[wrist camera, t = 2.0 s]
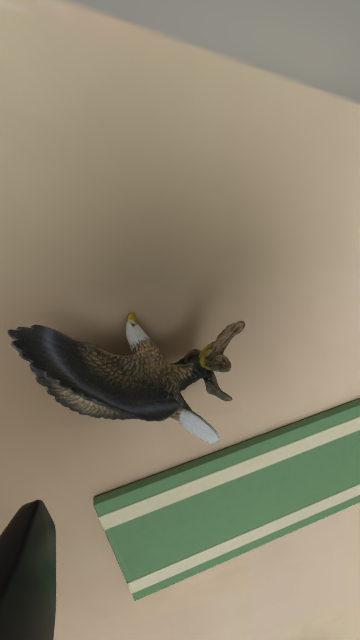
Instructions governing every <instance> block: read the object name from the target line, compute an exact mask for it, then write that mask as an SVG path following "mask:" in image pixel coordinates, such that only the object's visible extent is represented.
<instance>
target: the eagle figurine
mask: <svg viewBox="0 0 360 640" xmlns="http://www.w3.org/2000/svg"><path fill="white" fill-rule="evenodd" d="M244 327H245V323H244V322H243V321H239V322H236V323H233V324H230V325H228V326H227V327H226V329H224V330H223V331H222V332H221V333H220V334H219V335H218V337H217V339H216V341H214V342H212V343H210V344H209V345H208V346H206V347H205V348H204V349H203V350H202V351H200V350H198V349H194V350H191V351H189V352H188V353H187V354H186V355H185V357H184V358H183V359H181V360H180V361H178V362H177V363H172V364H171V363H169V362H167V361H166V359H165V357H164V355H163V353H162V352H161V350H160V349H159V348H158V347H157V345H156V344H155V343H154V342H153V341H152V340H151V339H150V338H149V337H148V336H147V335H146V333H145V332H144V331H143V330H142V329H141V327H140V326H139V325H138V323H137V322H136V320H135V314H134V313H131V314H130V315H129V316H128V319H127V324H126V336H127V340H128V342H129V345H130V348H131V352H132V355H125V356H123V355H116V354H112V353H110V352H107V351H105V350H103V349H101V348H99V347H97V346H94V345H92V344H89V343H83V342H77V341H74V340H72V339H71V338H69V337H68V336H66V335H64V334H62V333H60V332H58V331H56V330H53V329H51V328H47V327H44V326H41V325H33V326H31V328H27V327H18V328H17V330H8V335H9V336H10V337H11V338H12V339H14V340H15V341H12V343H11V346H12V347H13V348H14V349H16V350H18V351H19V356H20V357H21V358H23V359H25V360H27V361H29V362H30V368H31V370H32V372H34V373H35V374H36V375H37V377H36V381H37V382H38V383H39V384H41V385H43V386H45V387H48V389H47V392H48V394H50V395H53V396H55V400H56V401H57V402H59V403H61V404H62V405H63V406H65V407H69V408H70V410H72V411H76V412H79V414H82V415H89V416H91V417H95V418H101V417H103V418H105V419H112V420H115V419H121V420H124V419H141V420H146V421H164V420H165V419H167V418H168V417H171V418H173V419H175V420H178V422H179V424H180V425H181V426H182V427H183V428H184V429H186V430H187V431H189V432H191V433H192V434H195V435H196V436H198V437H199V438H201V439H202V440H205V441H206V442H208V443H210V444H214V443H217V442H218V439H219V436H218V433H217V431H216V430H215V429H214V428H213V427H212V426H211V425H210V424H208V423H207V422H206V421H205V420H204V419H203V418H202V417H201V416H199V415H198V414H196V413H195V412H193V411H192V410H191V408H190V407H189V406H188V404H187V403H186V401H185V400H184V398H183V397H182V395H181V393H180V391H182V390H184V389H185V388H186V387H187V386H189V385H190V384H192V383H194V382H196V381H197V380H199V379H201V378H203V379H204V381H205V384H206V390H207V392H208V393H209V394H212V395H215V396H217V397H218V398H220V399H222V400H224V401H231V400H232V397H230V396H229V395H228V394H226V393H225V392H223V391H222V390H221V389H220V388H219V386H218V384H217V380H216V377H215V374H214V372H213V371H219V372H228V371H230V369H231V363H230V361H229V360H228V358H227V357H225V356H224V355H223V352H224V350H225V348H226V347H227V345H228V343H229V342H230V340H231V339H232V338H233V337H234V336H235V335H236V334H238V333H240V332H241V331H242V330H243V328H244Z"/></svg>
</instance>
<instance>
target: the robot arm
mask: <svg viewBox="0 0 360 640" xmlns="http://www.w3.org/2000/svg"><path fill="white" fill-rule="evenodd" d="M55 613H56V530H55V525H54V522H53V520H52V518H51V516H50V514H49V512H48V510H47V508H46V506H45V504H44V503H43V501H42V500H36V501H33V502H30V503H27V504H25V505H23V506H22V507H21V508H20V509H19V510H18V512H17V513H16V514H15V516H14V517H13V519H12V520H11V521H10V523H9V524H8V526H7V527H6V528H5V530H4V531H3V533H2V534H1V535H0V640H53V637H54V626H55Z"/></svg>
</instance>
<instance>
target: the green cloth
mask: <svg viewBox="0 0 360 640" xmlns="http://www.w3.org/2000/svg"><path fill="white" fill-rule="evenodd" d="M359 502H360V399H357V400H355V401H352V402H349V403H347V404H344V405H341V406H338V407H336V408H333V409H330V410H328V411H325V412H322V413H320V414H317V415H314V416H312V417H309V418H306V419H304V420H301V421H298V422H296V423H293V424H290V425H288V426H285V427H282V428H279V429H277V430H274V431H271V432H269V433H266V434H263V435H261V436H258V437H255V438H253V439H250V440H247V441H245V442H242V443H239V444H237V445H234V446H231V447H229V448H226V449H223V450H220V451H218V452H215V453H212V454H210V455H207V456H204V457H202V458H199V459H196V460H194V461H191V462H188V463H186V464H183V465H180V466H178V467H175V468H172V469H170V470H167V471H164V472H162V473H159V474H156V475H153V476H151V477H148V478H145V479H143V480H140V481H137V482H135V483H132V484H129V485H127V486H124V487H121V488H119V489H116V490H113V491H111V492H108V493H105V494H103V495H100V496H97V497H94V507H95V510H96V512H97V514H98V518H99V520H100V523H101V525H102V527H103V530H104V531H105V533H106V535H107V538H108V540H109V542H110V544H111V547H112V549H113V551H114V554H115V556H116V558H117V561H118V563H119V565H120V568H121V570H122V572H123V575H124V577H125V579H126V582H127V585H128V587H129V590H130V592H131V594H132V595H133V598H134V600H135V601H136V600H138V599H140V598H143V597H145V596H147V595H150V594H152V593H154V592H156V591H159V590H161V589H163V588H165V587H168V586H170V585H172V584H175V583H177V582H179V581H181V580H184V579H186V578H188V577H191V576H193V575H195V574H197V573H200V572H202V571H204V570H206V569H209V568H211V567H213V566H216V565H218V564H220V563H222V562H225V561H227V560H229V559H231V558H234V557H236V556H238V555H241V554H243V553H245V552H247V551H250V550H252V549H254V548H257V547H259V546H261V545H263V544H266V543H268V542H270V541H272V540H275V539H277V538H279V537H282V536H284V535H286V534H288V533H291V532H293V531H295V530H297V529H300V528H302V527H304V526H307V525H309V524H311V523H313V522H316V521H318V520H320V519H323V518H325V517H327V516H329V515H332V514H334V513H336V512H338V511H341V510H343V509H345V508H348V507H350V506H352V505H354V504H357V503H359Z"/></svg>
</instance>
